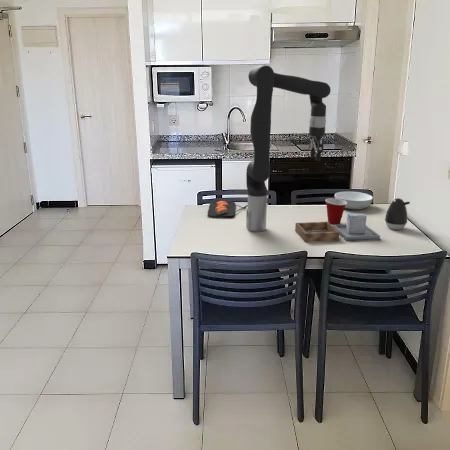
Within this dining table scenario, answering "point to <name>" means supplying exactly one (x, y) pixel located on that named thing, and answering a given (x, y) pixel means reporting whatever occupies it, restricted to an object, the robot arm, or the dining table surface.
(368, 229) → the grey tray
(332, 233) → the walnut holder
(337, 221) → the plastic cup
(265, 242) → the dining table surface
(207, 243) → the dining table surface
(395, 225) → the pump dispenser
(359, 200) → the serving bowl
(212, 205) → the sushi plate
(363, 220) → the medicine box
